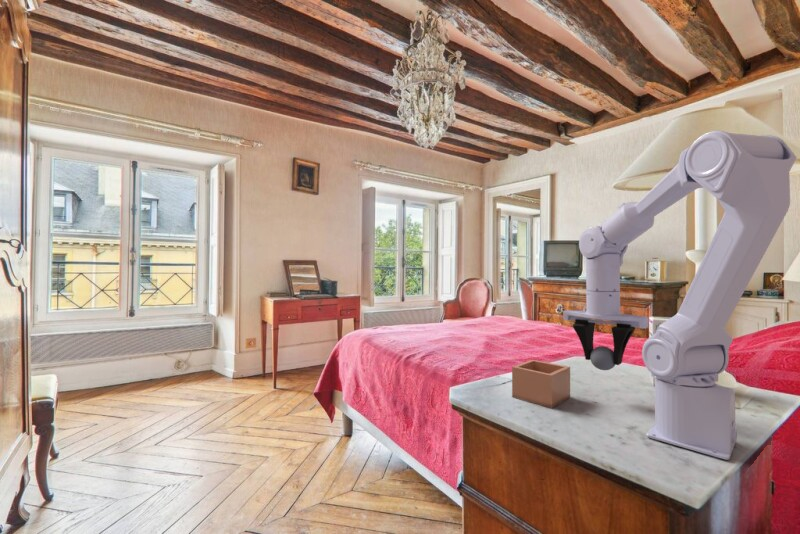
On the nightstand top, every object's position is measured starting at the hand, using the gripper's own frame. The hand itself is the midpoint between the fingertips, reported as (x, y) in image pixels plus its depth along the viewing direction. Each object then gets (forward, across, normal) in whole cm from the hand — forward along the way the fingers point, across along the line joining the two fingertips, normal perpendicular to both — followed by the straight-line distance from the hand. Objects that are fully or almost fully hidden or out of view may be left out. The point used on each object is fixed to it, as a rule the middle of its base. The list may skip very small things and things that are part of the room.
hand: (603, 361), depth 72 cm
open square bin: (+8, +9, +7) cm, 14 cm away
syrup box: (+8, -6, -20) cm, 22 cm away
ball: (+2, 0, 0) cm, 2 cm away
